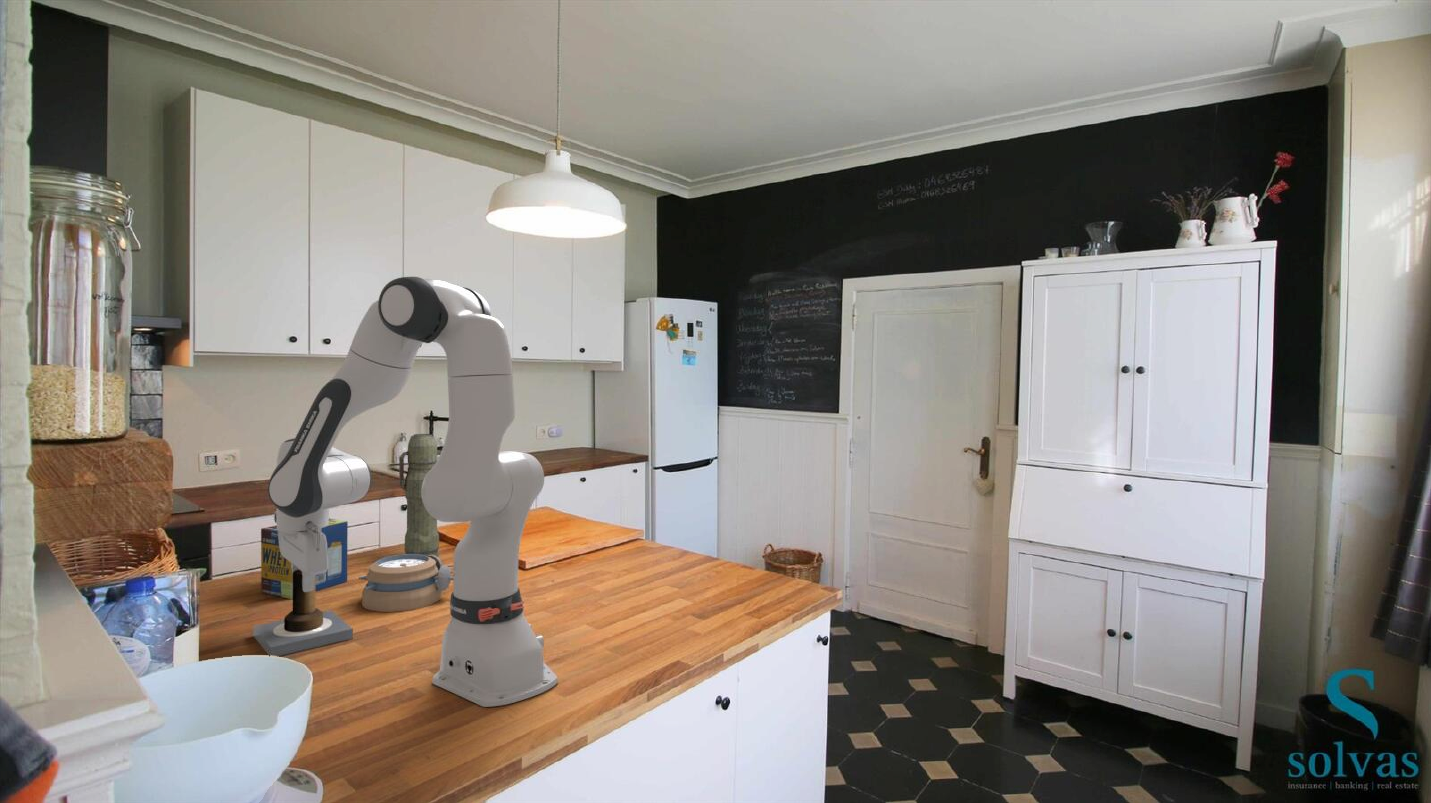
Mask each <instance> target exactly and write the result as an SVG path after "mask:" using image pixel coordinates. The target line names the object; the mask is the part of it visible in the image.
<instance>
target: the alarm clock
mask: <svg viewBox="0 0 1431 803" xmlns="http://www.w3.org/2000/svg"><path fill="white" fill-rule="evenodd" d="M451 568H454V564H450V565H446V564H443V562H442V560H441V558H439V556H438V557H437V556H434V555H429V556H425V555H420V554H406V553H404V554H403V553H402V554H395V555H390V556H389V555H388V556H385V557H382V558H380V559H378V560H376V561H375V562H372V563H371V564H370V565H369V567H368V572H367V573H366V574H365V575H366V576H358V580H363V581H364V580H365V581H367V583H366V584H365V587H364V588H363V590H362V592H361V596H362V597H361V606H362V607H363V608H365V609H366V610H370V611H373V612H383V613H384V612H385V613H393V612H394V613H395V612H397V613H398V612H406V611H412V610H416V609H422V608H425V607H428V606H431V605H433V604H435V603H437V602H439V601H440V600H441V598H442V597H443V592H444V591H446V590H447V589H448V588H449V586H450V584H451V581H453V575H452V574H453V570H452V569H451Z"/></svg>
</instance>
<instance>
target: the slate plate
mask: <svg viewBox="0 0 1431 803" xmlns="http://www.w3.org/2000/svg"><path fill="white" fill-rule="evenodd" d="M322 612H323V624H322V626H320V627H318V628H315V629H312V630H307V631H301V632H290V631H286V630H285V629H284V619H282V620H277V621H272V622H267V623H261V624H257V625H253V626H252V628H253V633H252V634H253V638H254V639H255V641H256V642H257V643H258V644H259V645H260V646H261V648H262V649H263V650H264V652H265V653H267V655H268V656H269V655H277V657H281V656H286V655H290V654H293V653H294V654H295V653H298V652H303V651H307V650H310V649H315V648H319V647H322V646H328V645H331V644H335V643H340V642H345V641H348V640H352V639H354V628H353V627H351V626H350V625H349V624H348V623H347V622H346V621H344V619H342V618H341V617H340V616H339V615H337V613H334V611H333V610H332V609H331V610H325V611H322ZM285 654H286V655H285Z"/></svg>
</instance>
